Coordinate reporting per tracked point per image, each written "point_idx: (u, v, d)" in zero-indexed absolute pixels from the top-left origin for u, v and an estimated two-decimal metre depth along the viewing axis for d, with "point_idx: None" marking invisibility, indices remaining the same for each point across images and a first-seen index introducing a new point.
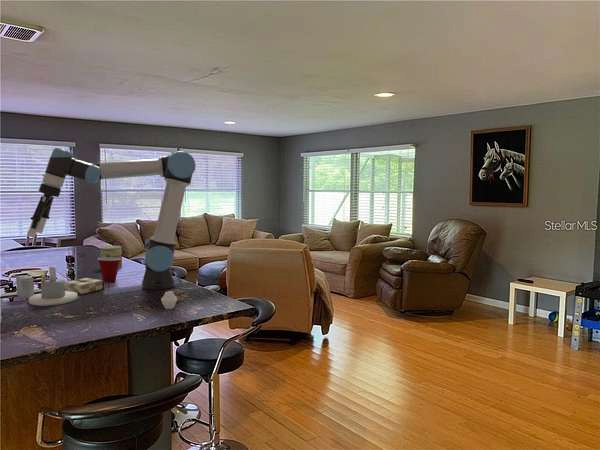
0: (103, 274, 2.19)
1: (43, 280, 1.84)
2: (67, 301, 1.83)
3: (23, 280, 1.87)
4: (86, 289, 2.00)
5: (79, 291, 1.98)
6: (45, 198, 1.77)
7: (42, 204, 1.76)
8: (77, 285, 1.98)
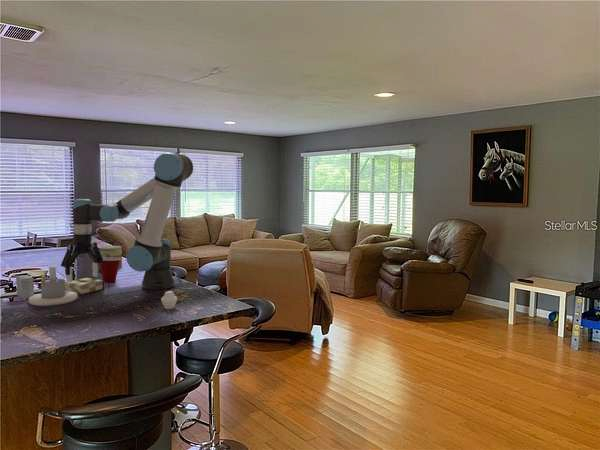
0: (103, 274, 2.19)
1: (43, 280, 1.84)
2: (67, 301, 1.83)
3: (23, 280, 1.87)
4: (86, 289, 2.00)
5: (79, 291, 1.98)
6: (70, 246, 1.97)
7: (68, 252, 1.96)
8: (77, 285, 1.98)
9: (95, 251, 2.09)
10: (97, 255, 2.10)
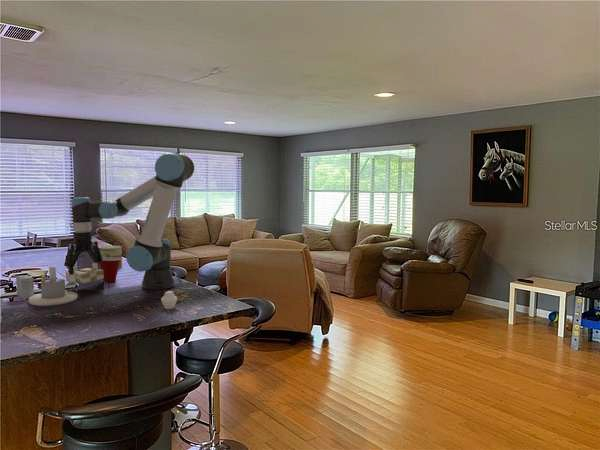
0: None
1: (43, 280, 1.84)
2: (67, 301, 1.83)
3: (23, 280, 1.87)
4: (87, 278, 1.99)
5: (80, 280, 1.98)
6: (70, 245, 1.97)
7: (69, 251, 1.97)
8: (78, 274, 1.98)
9: (95, 250, 2.09)
10: (97, 254, 2.10)
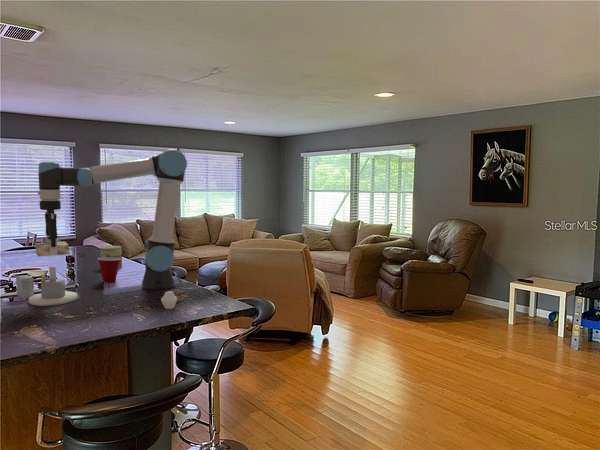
0: (103, 274, 2.19)
1: (43, 280, 1.84)
2: (67, 301, 1.83)
3: (23, 280, 1.87)
4: None
5: (64, 252, 1.83)
6: (53, 215, 1.78)
7: (53, 221, 1.78)
8: (60, 246, 1.82)
9: None
10: None
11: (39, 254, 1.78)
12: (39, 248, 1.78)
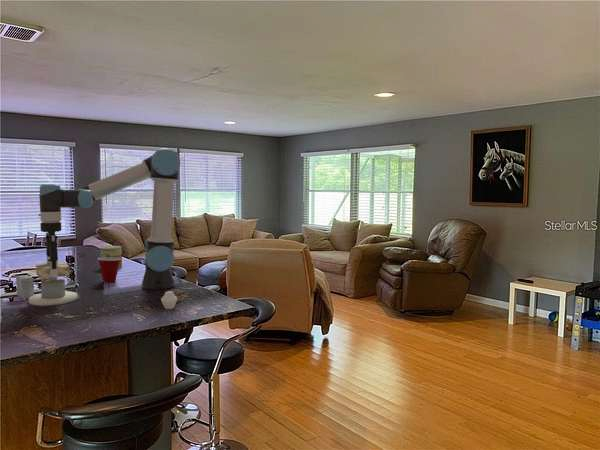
0: (103, 274, 2.19)
1: (43, 280, 1.84)
2: (67, 301, 1.83)
3: (23, 280, 1.87)
4: None
5: (64, 274, 1.84)
6: (54, 237, 1.79)
7: (54, 244, 1.79)
8: (61, 268, 1.83)
9: None
10: None
11: (40, 276, 1.79)
12: (40, 270, 1.78)
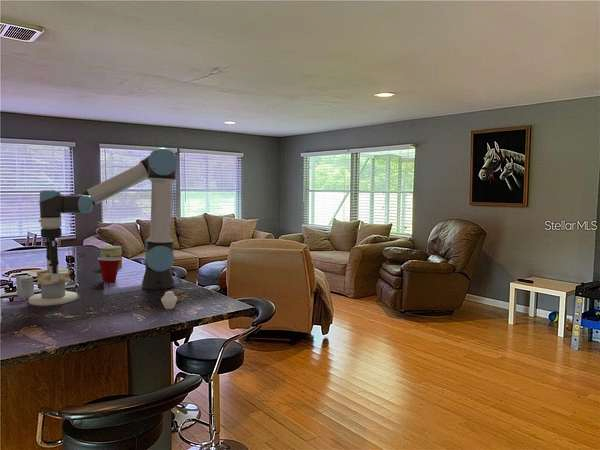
0: (103, 274, 2.19)
1: None
2: (67, 301, 1.83)
3: (23, 280, 1.87)
4: None
5: (65, 280, 1.84)
6: (54, 242, 1.79)
7: (54, 248, 1.79)
8: (61, 274, 1.83)
9: None
10: None
11: (40, 283, 1.79)
12: (40, 277, 1.79)
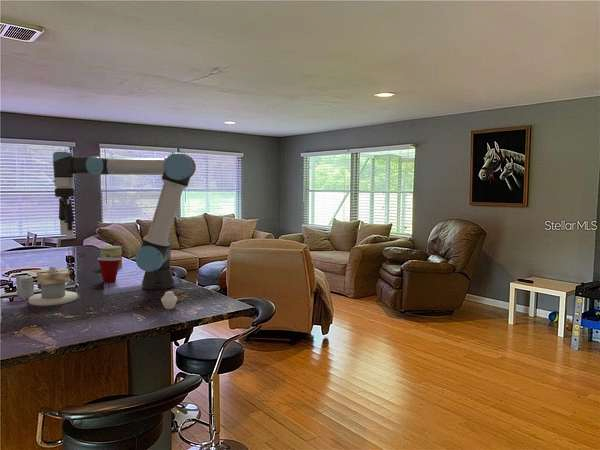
0: (103, 274, 2.19)
1: None
2: (67, 301, 1.83)
3: (23, 280, 1.87)
4: None
5: (65, 280, 1.84)
6: (69, 200, 1.88)
7: (69, 206, 1.88)
8: (61, 274, 1.83)
9: None
10: None
11: (40, 283, 1.79)
12: (40, 277, 1.79)
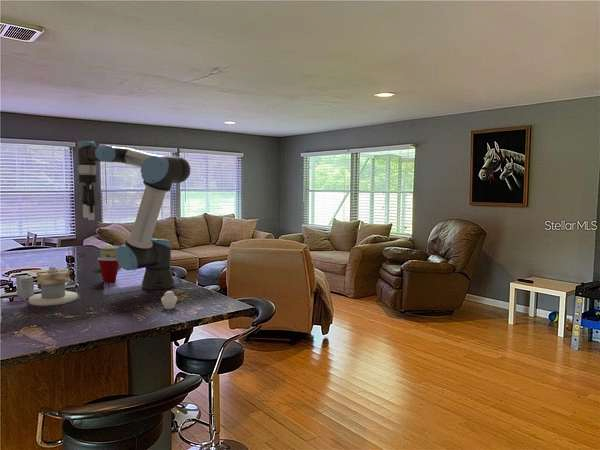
0: (103, 274, 2.19)
1: None
2: (67, 301, 1.83)
3: (23, 280, 1.87)
4: None
5: (65, 280, 1.84)
6: (91, 185, 2.08)
7: (91, 191, 2.07)
8: (61, 274, 1.83)
9: None
10: None
11: (40, 283, 1.79)
12: (40, 277, 1.79)
